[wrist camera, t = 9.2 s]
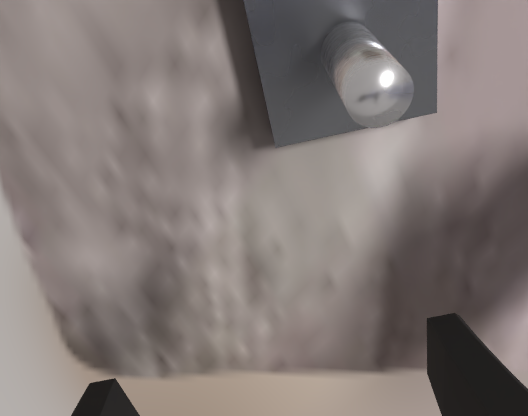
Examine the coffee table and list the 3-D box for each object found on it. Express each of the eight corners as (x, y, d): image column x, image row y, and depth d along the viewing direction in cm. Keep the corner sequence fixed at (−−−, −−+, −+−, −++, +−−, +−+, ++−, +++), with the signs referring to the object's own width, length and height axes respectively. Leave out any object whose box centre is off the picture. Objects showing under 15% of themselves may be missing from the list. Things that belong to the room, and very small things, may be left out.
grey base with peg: (426, -78, 15) (505, -59, 11) (427, 102, 18) (486, 168, 14) (236, -32, 15) (242, 3, 11) (273, 135, 18) (287, 209, 14)
